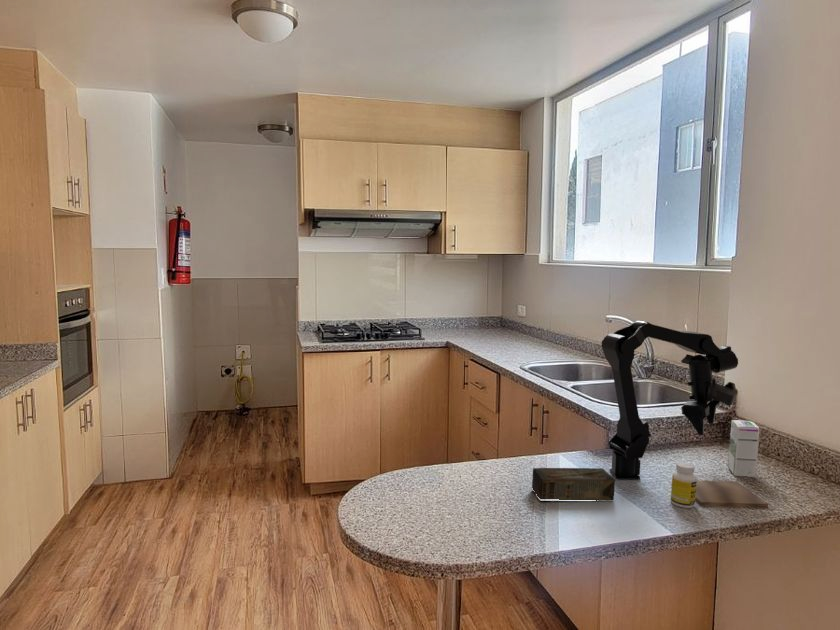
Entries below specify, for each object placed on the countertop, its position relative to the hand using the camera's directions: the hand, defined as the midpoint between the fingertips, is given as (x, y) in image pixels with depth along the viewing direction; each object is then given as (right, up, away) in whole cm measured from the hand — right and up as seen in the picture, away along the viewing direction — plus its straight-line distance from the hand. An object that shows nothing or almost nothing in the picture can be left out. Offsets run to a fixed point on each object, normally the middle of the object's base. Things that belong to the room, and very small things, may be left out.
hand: (706, 429), depth 161 cm
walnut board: (-5, -13, -17) cm, 23 cm away
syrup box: (+9, -12, -2) cm, 15 cm away
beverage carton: (-44, -13, -19) cm, 50 cm away
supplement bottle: (-18, -14, -23) cm, 32 cm away
